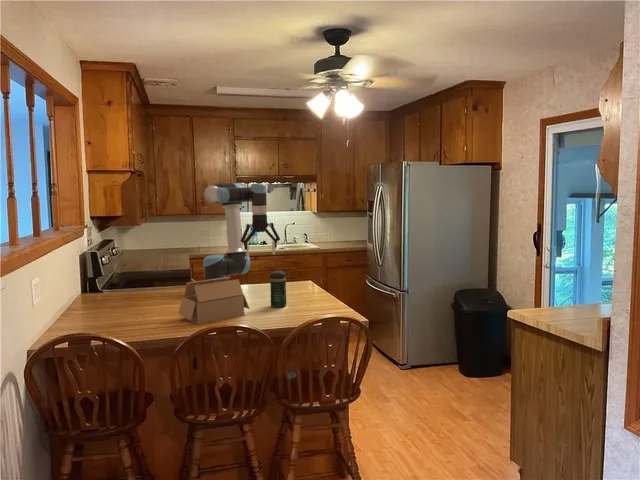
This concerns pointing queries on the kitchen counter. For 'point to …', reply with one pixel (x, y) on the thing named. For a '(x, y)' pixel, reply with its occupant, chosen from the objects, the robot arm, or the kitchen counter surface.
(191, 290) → the flap
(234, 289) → the flap
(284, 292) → the coffee jar
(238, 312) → the carton
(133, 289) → the kitchen counter surface
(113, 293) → the kitchen counter surface
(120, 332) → the kitchen counter surface
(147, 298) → the kitchen counter surface
